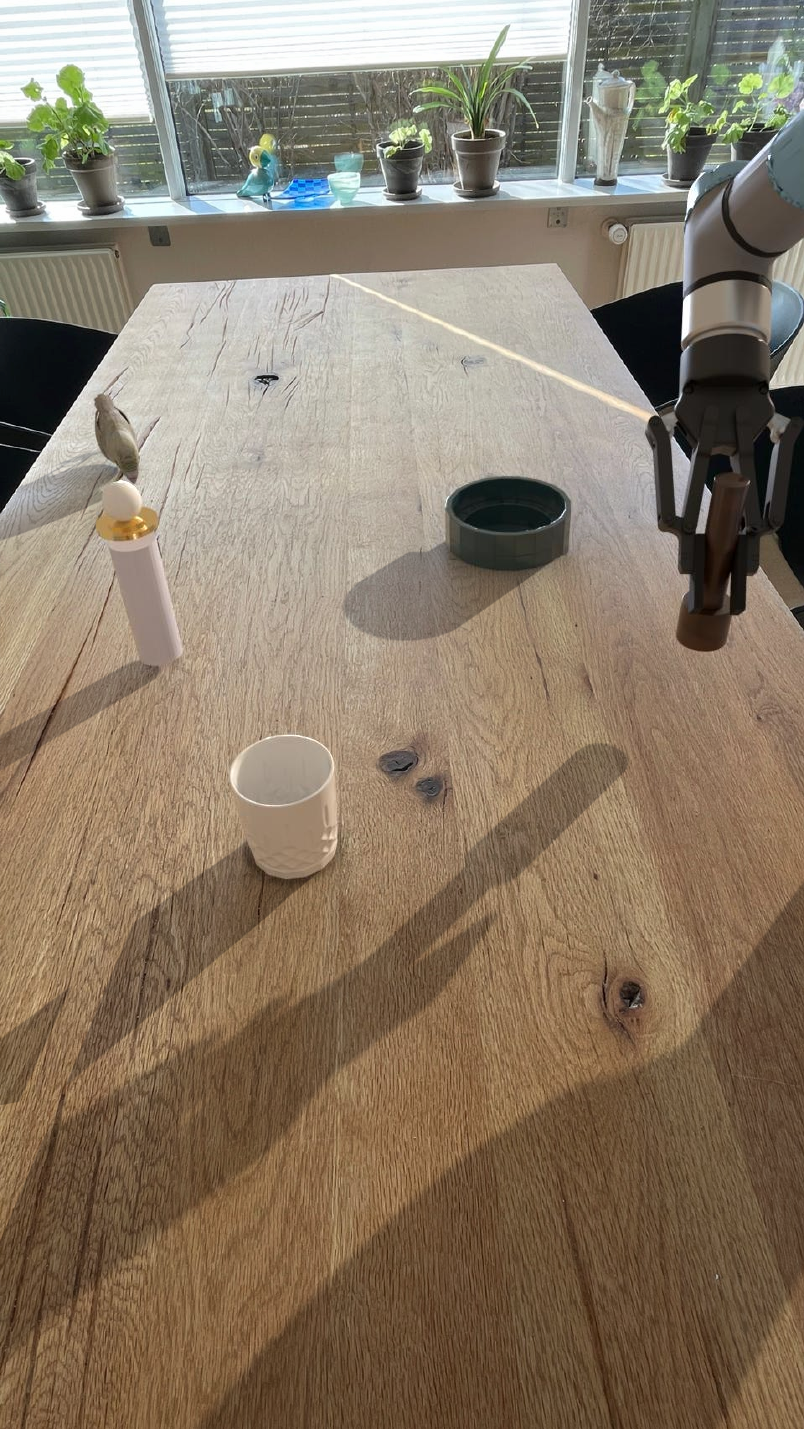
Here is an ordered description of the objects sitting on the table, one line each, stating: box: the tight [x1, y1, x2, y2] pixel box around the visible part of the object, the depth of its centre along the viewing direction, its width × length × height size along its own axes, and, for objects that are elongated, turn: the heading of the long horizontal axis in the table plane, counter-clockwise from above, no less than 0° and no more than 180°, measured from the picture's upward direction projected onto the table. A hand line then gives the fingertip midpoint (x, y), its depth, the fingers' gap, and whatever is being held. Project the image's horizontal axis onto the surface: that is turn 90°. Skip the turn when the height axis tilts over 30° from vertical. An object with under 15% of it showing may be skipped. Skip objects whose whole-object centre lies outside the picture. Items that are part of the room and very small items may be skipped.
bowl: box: [444, 475, 572, 572], centre depth 111 cm, size 14×14×6 cm
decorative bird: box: [93, 393, 141, 485], centre depth 135 cm, size 5×16×7 cm, turn 24°
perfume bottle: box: [95, 480, 184, 667], centre depth 93 cm, size 6×6×20 cm
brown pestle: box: [675, 471, 750, 653], centre depth 83 cm, size 5×5×16 cm
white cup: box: [228, 734, 339, 880], centre depth 74 cm, size 8×8×10 cm
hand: (716, 611), depth 82 cm, fingers closed on brown pestle, 3 cm apart
